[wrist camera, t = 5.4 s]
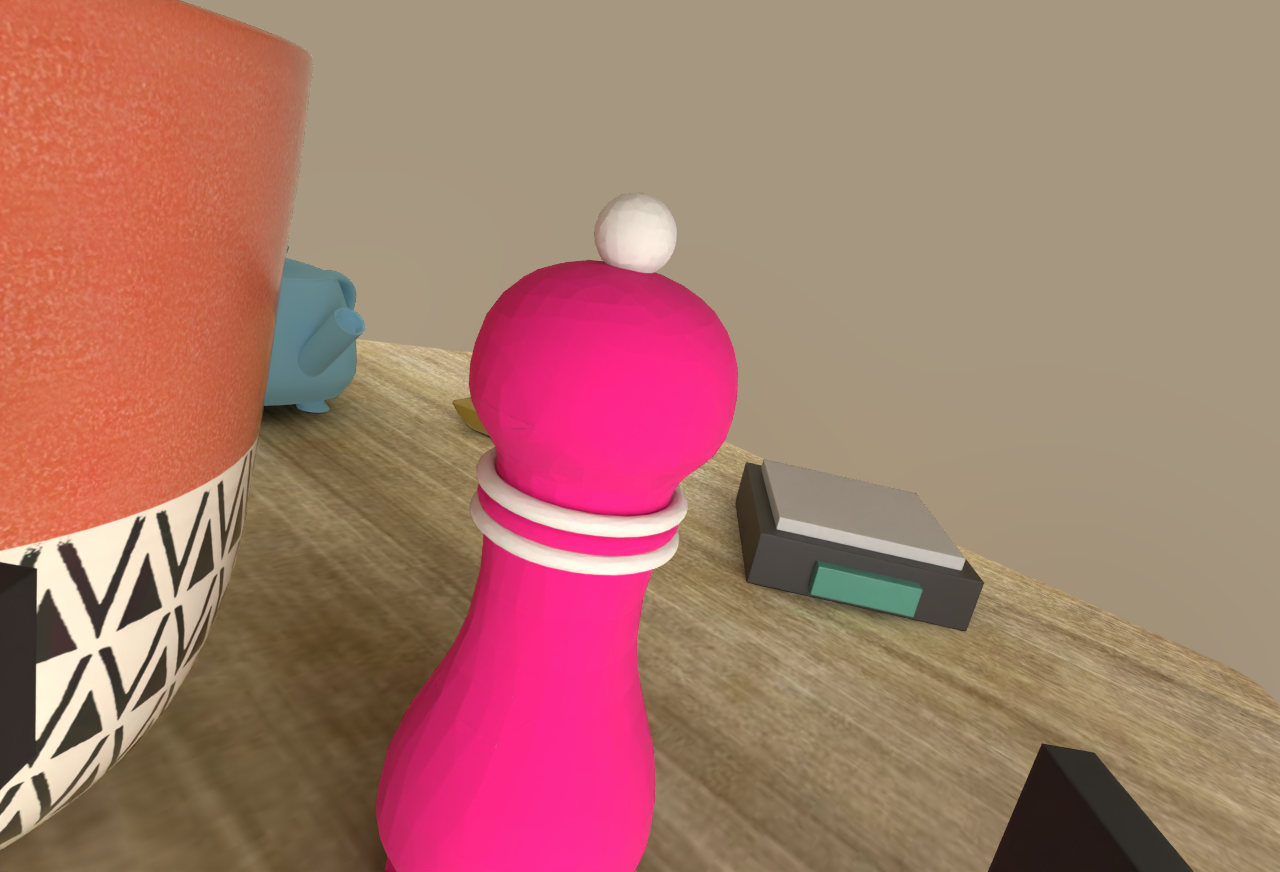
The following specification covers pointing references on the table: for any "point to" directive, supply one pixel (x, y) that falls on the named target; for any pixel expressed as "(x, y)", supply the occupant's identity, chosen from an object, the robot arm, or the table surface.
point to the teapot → (313, 338)
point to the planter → (132, 347)
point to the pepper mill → (563, 565)
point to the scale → (852, 545)
